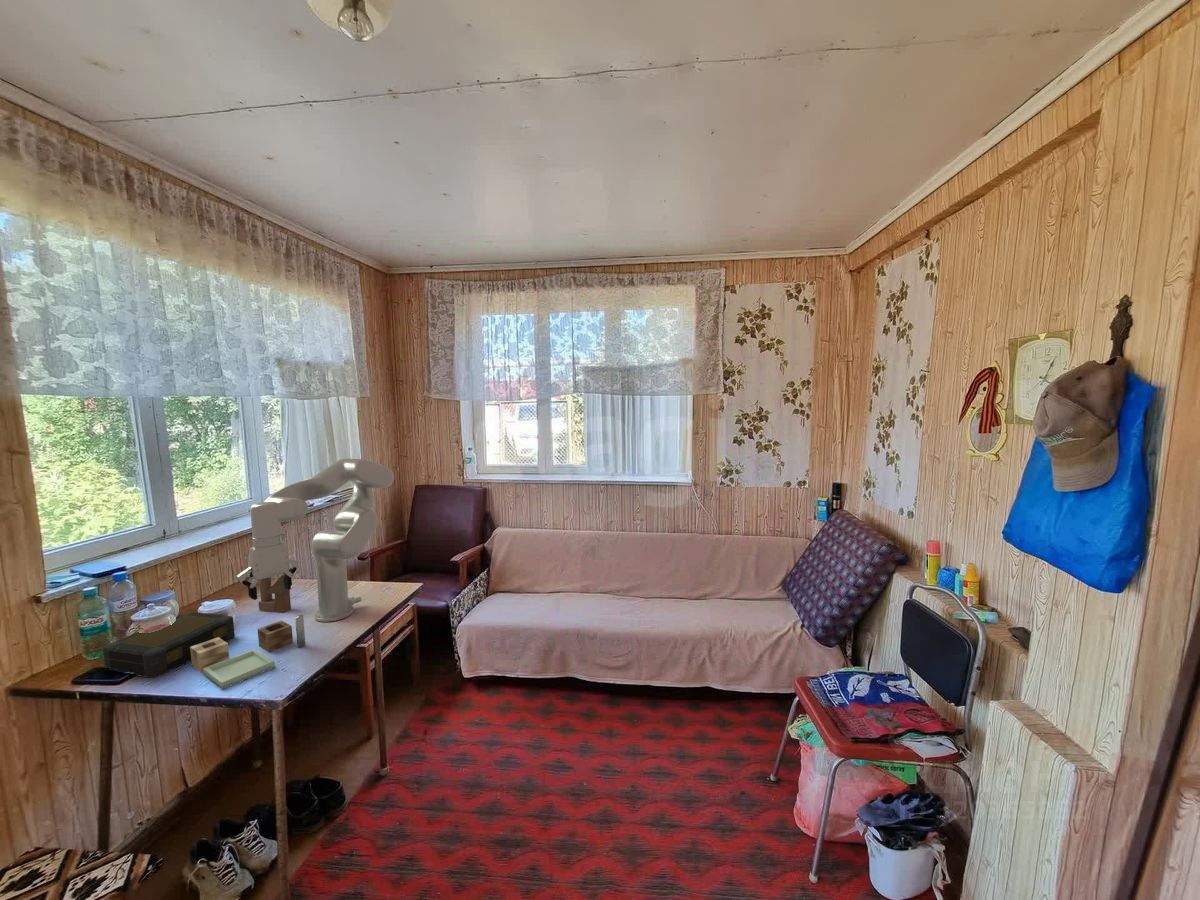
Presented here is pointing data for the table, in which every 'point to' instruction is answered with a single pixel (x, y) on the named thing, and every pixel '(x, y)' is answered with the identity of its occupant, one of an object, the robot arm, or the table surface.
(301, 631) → the pin gauge
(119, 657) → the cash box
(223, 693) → the table surface
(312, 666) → the table surface
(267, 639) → the walnut block
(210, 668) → the tray
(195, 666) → the oak block
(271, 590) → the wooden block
